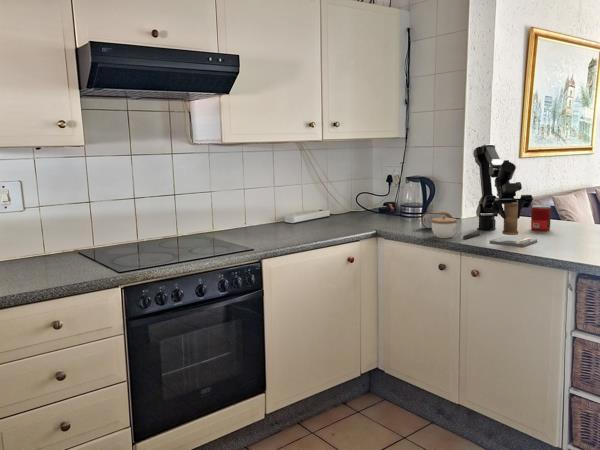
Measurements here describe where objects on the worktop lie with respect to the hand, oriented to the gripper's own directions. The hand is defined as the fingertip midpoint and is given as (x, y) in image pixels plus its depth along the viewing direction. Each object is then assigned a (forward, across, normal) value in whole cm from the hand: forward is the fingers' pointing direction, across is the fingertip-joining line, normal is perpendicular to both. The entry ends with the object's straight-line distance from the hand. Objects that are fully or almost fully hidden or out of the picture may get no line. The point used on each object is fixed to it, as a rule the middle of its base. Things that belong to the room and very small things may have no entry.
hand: (511, 218), depth 214 cm
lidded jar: (-5, -23, +20) cm, 31 cm away
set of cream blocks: (+9, +4, +4) cm, 11 cm away
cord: (-3, -12, +18) cm, 22 cm away
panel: (+6, +1, +8) cm, 10 cm away
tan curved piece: (-19, -22, +34) cm, 45 cm away
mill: (+4, 0, +6) cm, 7 cm away
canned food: (-14, +23, +28) cm, 39 cm away
